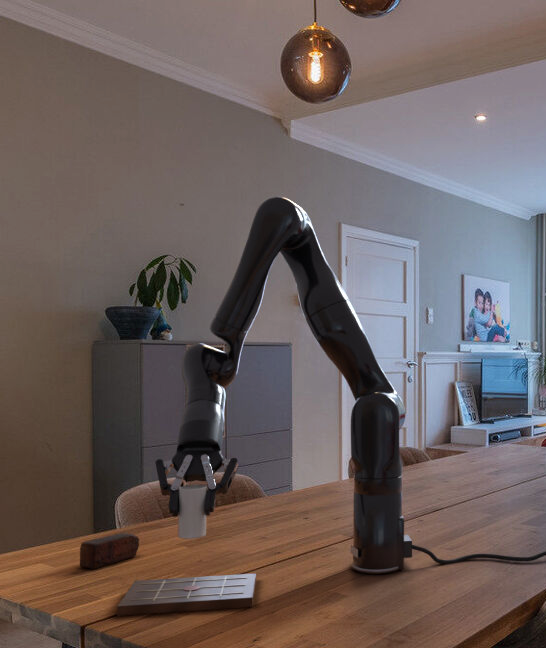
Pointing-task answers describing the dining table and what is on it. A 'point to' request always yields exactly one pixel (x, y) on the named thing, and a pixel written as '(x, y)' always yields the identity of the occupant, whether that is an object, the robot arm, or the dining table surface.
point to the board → (188, 594)
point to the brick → (108, 550)
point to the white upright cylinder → (192, 511)
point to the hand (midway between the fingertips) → (191, 513)
